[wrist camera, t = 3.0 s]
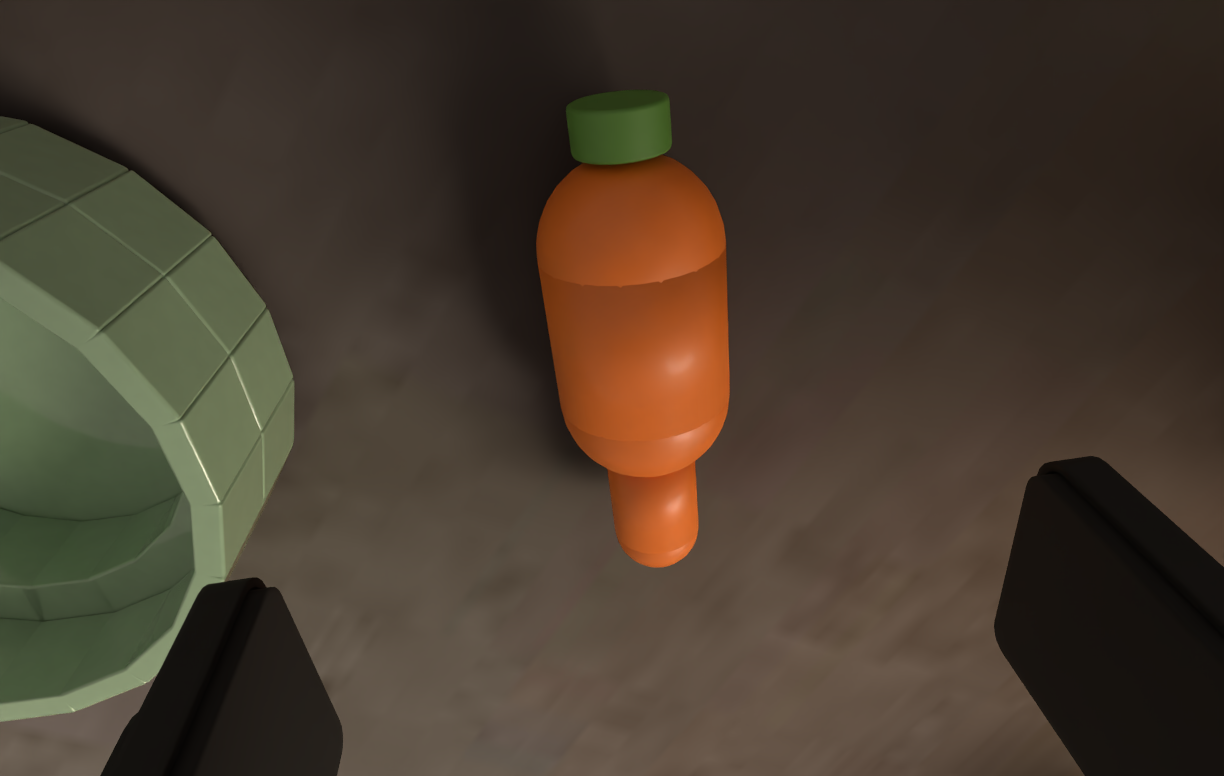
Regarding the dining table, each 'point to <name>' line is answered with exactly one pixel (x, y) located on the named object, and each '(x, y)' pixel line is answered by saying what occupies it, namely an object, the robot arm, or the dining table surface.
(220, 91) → the dining table surface
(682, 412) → the carrot
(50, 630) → the bowl
